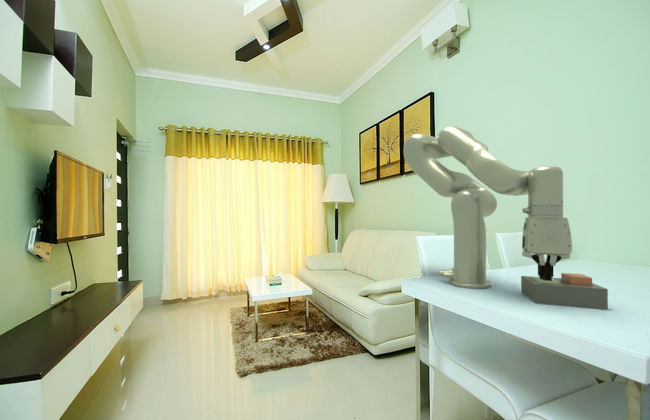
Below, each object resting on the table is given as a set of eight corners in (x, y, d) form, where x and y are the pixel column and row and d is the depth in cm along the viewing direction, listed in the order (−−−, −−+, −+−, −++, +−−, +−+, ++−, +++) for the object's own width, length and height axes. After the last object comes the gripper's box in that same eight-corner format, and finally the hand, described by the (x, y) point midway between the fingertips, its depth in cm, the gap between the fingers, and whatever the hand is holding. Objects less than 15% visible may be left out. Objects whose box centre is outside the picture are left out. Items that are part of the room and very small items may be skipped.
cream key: (538, 292, 75) (538, 280, 75) (531, 288, 79) (531, 276, 79) (559, 294, 74) (559, 281, 74) (551, 289, 78) (551, 277, 78)
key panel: (535, 303, 73) (535, 284, 73) (521, 292, 82) (521, 275, 82) (607, 309, 69) (607, 289, 69) (583, 297, 78) (583, 279, 78)
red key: (570, 288, 73) (570, 276, 73) (561, 284, 77) (561, 272, 77) (592, 290, 72) (592, 277, 72) (581, 285, 76) (581, 274, 76)
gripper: (518, 212, 75) (519, 280, 75) (586, 212, 71) (587, 284, 71) (509, 212, 82) (509, 274, 82) (570, 212, 78) (570, 278, 78)
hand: (545, 279), depth 76 cm, fingers closed
